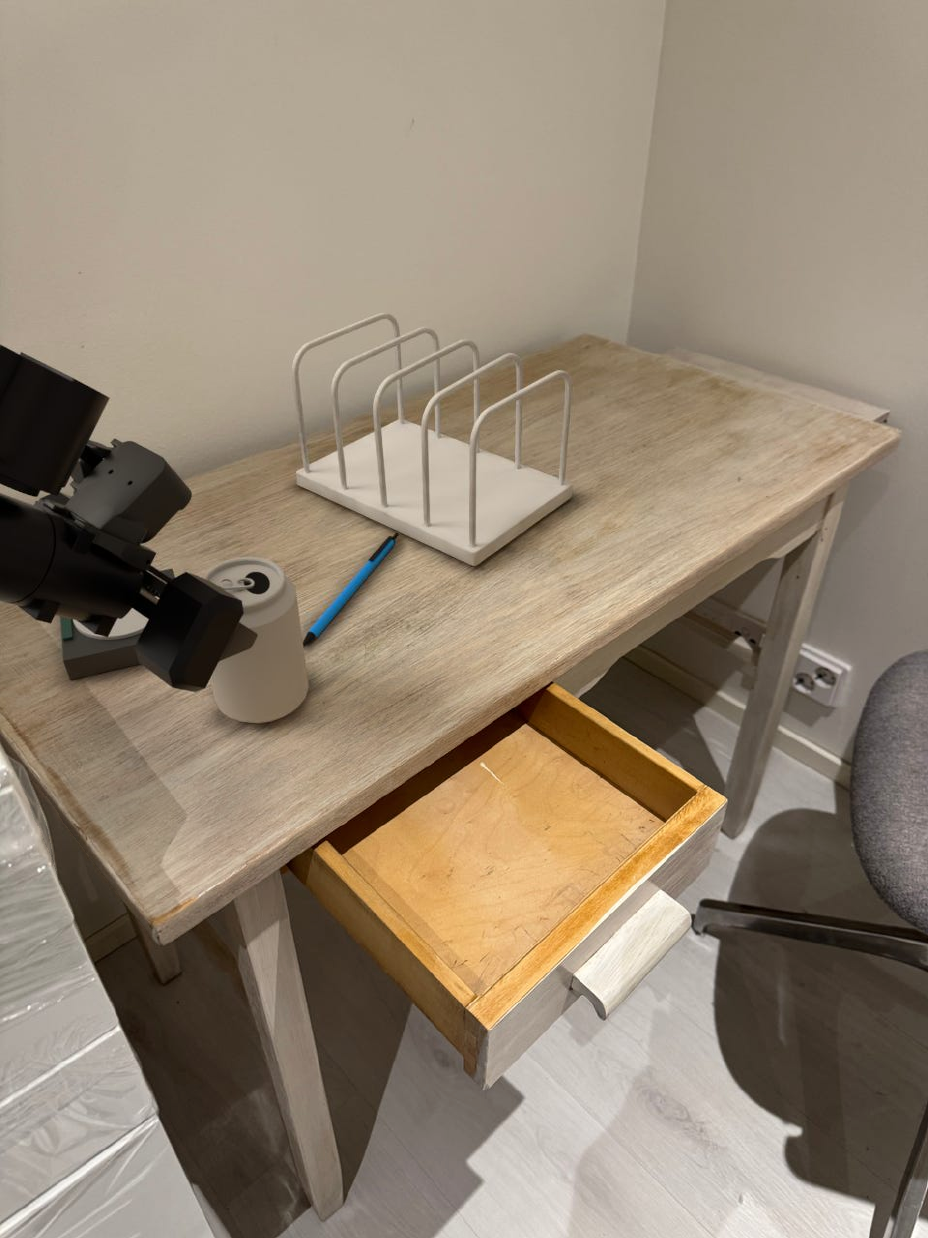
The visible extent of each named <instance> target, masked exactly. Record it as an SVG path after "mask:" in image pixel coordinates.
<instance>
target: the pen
mask: <svg viewBox="0 0 928 1238" xmlns="http://www.w3.org/2000/svg"><path fill="white" fill-rule="evenodd" d="M399 535H400V534H399V533H398V532H395V533H394V534H393V535H389V536H387V538H386V539H385V540H383V542H382V543H381V544H380V545H379V546H378V548H377V549H376V550H375V551H374V553H373V554H372V555H371V556H370V557H369V558H368V561H367V562H366V563H365V564H364V565H363V566H362V568H361V569H360V570H359V571H358V573H356V575H355V576H354V578H352V579H351V581H350V582H349V583H348V584H347V585H346V586H345V588H344V589H343V590H342V592H340V594H339V595H338V596H337V597H336V598H335V600H334V601H333V602H332V603H331V604H330V605H329V607H328V608H327V609H326V610H325V612H323V614H322V615H321V616H320V617H319V618H318V619H317V621H316V622H315V623H314V624H313V625H312V626H311V628H310V629H309V630H308V631H307V633H306V635H305V637H304V639H303V647H304V648H305V647H306V646H307V645H309V644H311V643H312V642H313V641H315V640H316V639H317V638H318V637H319V635H321V633H322V632H323V631H324V629H325V628H326V627H327V626H328V625H329V624H330V623H331V621H332V620H333V619H334V617H336V615H337V614H338V613H339V611H340V610H341V609H342V608H343V607H344V606H345V604H346V603H347V602H348V601H349V599H350V598H351V597H352V596H353V595H354V594H355V592H356V591H357V590H358V589H359V587H361V585H362V584H363V582H364V581H366V580H367V578H368V577H369V576H370V574H371V573H372V572H373V571H374V569H376V567H377V566H378V565H379V563H380V562H382V560H383V559H384V558H385V557H386V555H387V554H388V553H389V552H390V551H391V549H392V548H393V547H394V546H395V545H396V540H397V538H398V537H399Z"/></svg>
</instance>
